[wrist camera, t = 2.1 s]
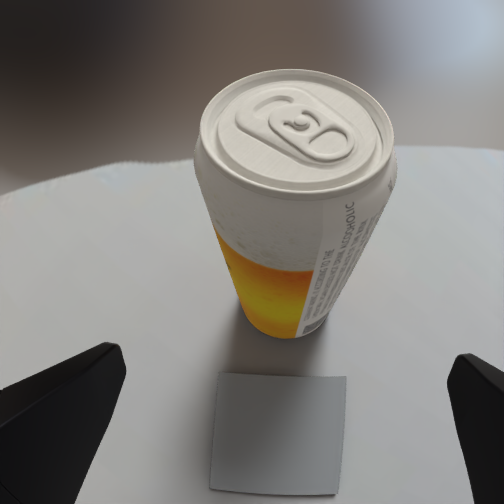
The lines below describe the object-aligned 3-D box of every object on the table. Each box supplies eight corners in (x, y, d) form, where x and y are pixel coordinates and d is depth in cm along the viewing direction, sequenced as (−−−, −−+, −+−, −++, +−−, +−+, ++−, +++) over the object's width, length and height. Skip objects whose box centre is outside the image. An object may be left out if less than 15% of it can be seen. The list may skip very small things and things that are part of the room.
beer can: (288, 240, 23) (294, 48, 10) (348, 298, 21) (442, 132, 7) (223, 293, 22) (147, 121, 8) (283, 359, 19) (299, 265, 6)
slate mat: (336, 491, 15) (338, 493, 15) (210, 486, 16) (209, 488, 15) (344, 376, 18) (346, 376, 18) (220, 372, 19) (218, 371, 19)
